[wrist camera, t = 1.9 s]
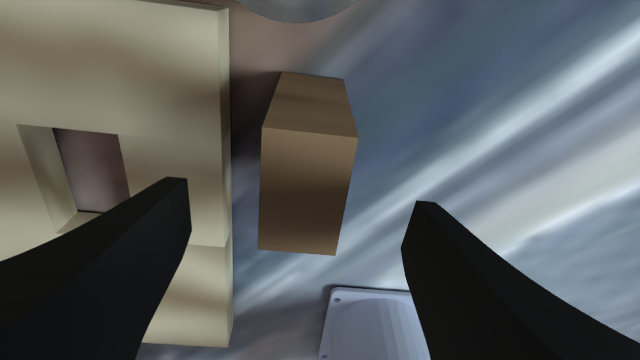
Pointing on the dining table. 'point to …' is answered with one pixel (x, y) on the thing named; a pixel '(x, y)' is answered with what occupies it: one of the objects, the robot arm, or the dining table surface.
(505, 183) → the dining table surface
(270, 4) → the metal round peg
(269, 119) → the walnut flat peg
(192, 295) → the slot board
